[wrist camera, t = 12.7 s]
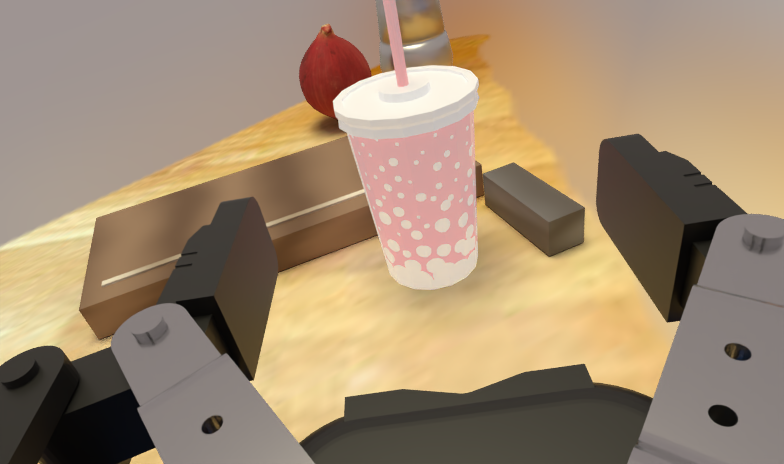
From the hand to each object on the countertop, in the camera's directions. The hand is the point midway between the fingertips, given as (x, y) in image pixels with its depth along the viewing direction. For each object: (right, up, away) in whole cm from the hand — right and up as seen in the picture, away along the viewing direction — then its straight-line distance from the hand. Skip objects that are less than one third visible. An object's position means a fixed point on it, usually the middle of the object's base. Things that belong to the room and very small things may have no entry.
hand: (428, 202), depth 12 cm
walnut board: (-5, -1, +18) cm, 18 cm away
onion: (-5, +9, +33) cm, 34 cm away
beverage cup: (+1, -2, +15) cm, 15 cm away
